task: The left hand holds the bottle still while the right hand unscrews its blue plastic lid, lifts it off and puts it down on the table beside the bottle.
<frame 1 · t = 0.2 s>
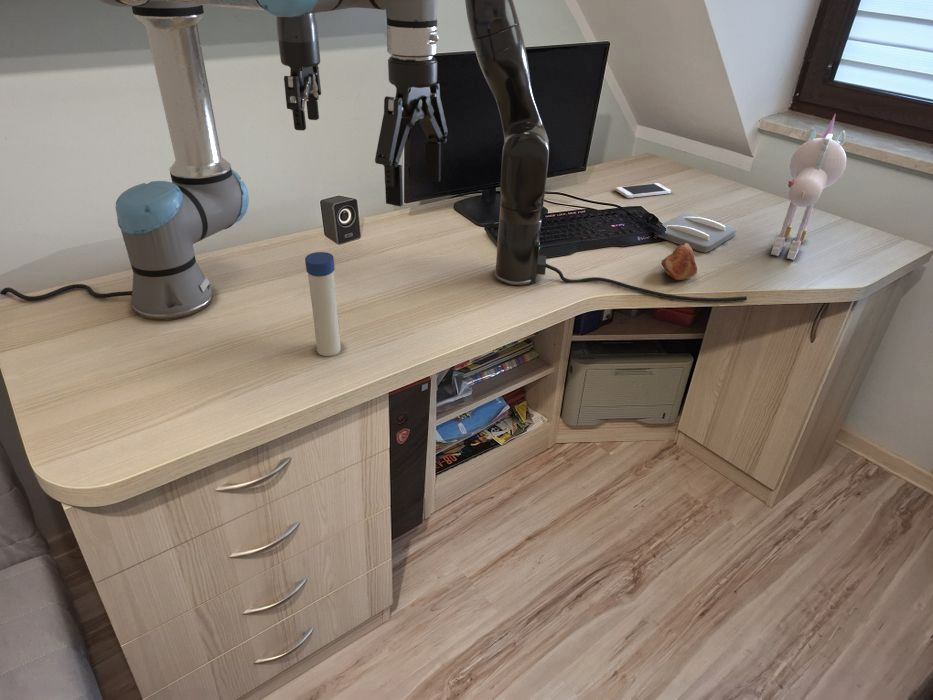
left hand: (414, 191, 109), 28 cm above the table, tool pointing down, fingers open, 13 cm apart
right hand: (307, 124, 131), 31 cm above the table, tool pointing down, fingers open, 8 cm apart
brown lumpy piece: (676, 275, 148), on the table
toy: (791, 239, 168), on the table
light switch: (694, 235, 168), on the table
bottle: (329, 349, 118), on the table
smartphone: (642, 192, 194), on the table
lid: (319, 259, 108), point 18 cm above the table, screwed on, not yet turned
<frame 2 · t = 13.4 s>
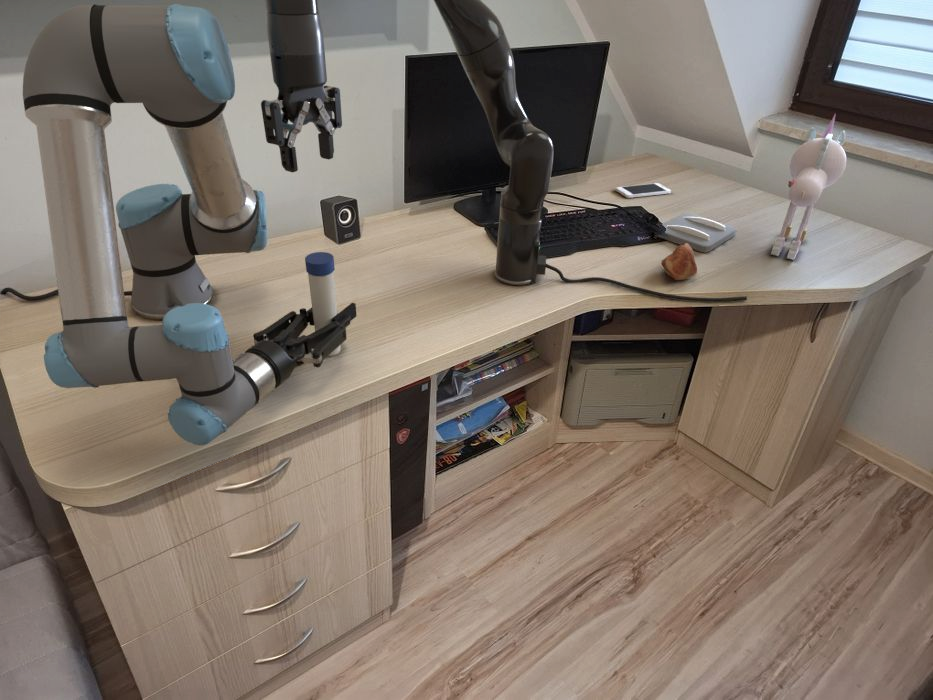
left hand: (342, 306, 118), 7 cm above the table, tool horizontal, fingers closed on bottle, 4 cm apart
right hand: (309, 164, 99), 34 cm above the table, tool pointing down, fingers open, 7 cm apart
bottle: (329, 349, 118), on the table, touching left hand
everything else where it was.
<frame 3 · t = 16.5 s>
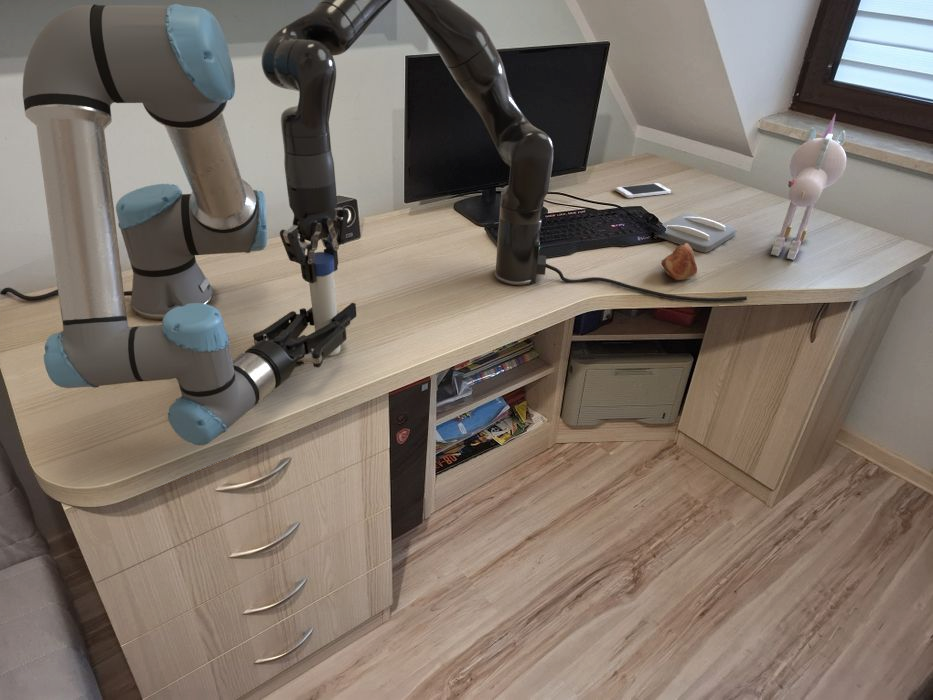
left hand: (342, 306, 118), 7 cm above the table, tool horizontal, fingers closed on bottle, 4 cm apart
right hand: (320, 275, 109), 15 cm above the table, tool pointing down, fingers closed on lid, 4 cm apart
bottle: (329, 349, 118), on the table, touching left hand
lid: (319, 259, 108), point 18 cm above the table, screwed on, not yet turned, touching right hand
everything else where it was.
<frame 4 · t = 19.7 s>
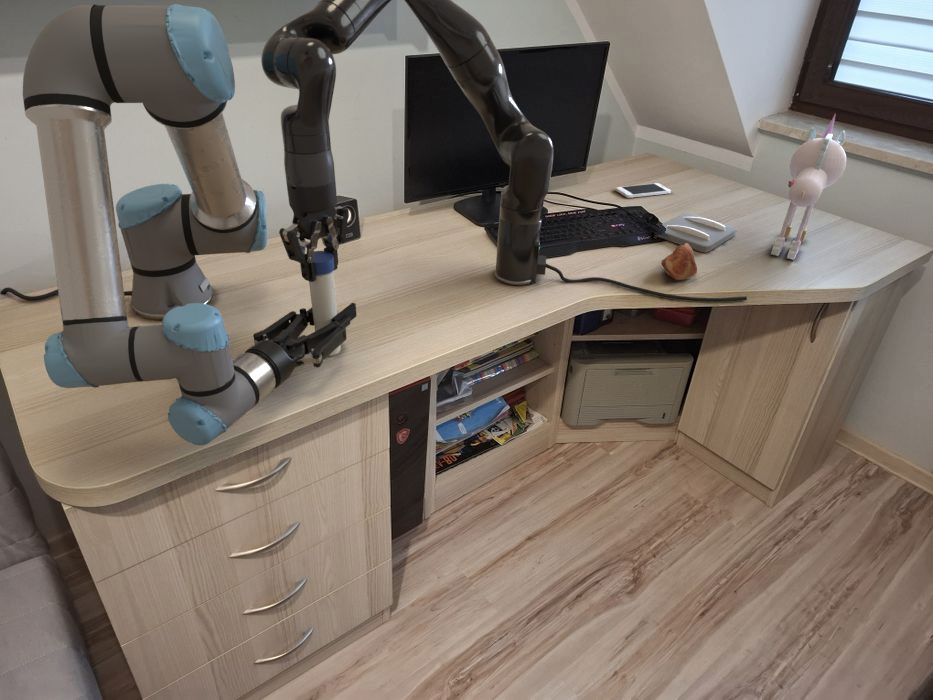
left hand: (342, 306, 118), 6 cm above the table, tool horizontal, fingers closed on bottle, 4 cm apart
right hand: (320, 274, 109), 16 cm above the table, tool pointing down, fingers closed on lid, 4 cm apart
bottle: (329, 349, 118), on the table, touching left hand
lid: (319, 258, 107), point 18 cm above the table, turned 65° so far, risen 0.2 cm, still on its thread, touching right hand
everything else where it was.
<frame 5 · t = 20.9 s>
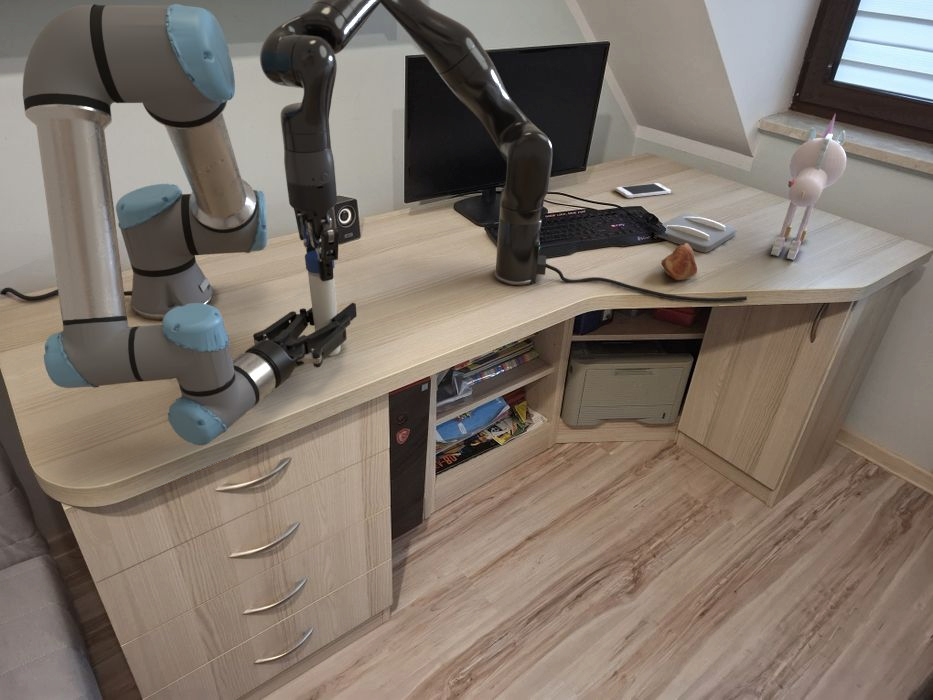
left hand: (342, 306, 118), 6 cm above the table, tool horizontal, fingers closed on bottle, 4 cm apart
right hand: (320, 272, 109), 16 cm above the table, tool pointing down, fingers closed on lid, 4 cm apart
bottle: (329, 349, 118), on the table, touching left hand
lid: (319, 257, 107), point 19 cm above the table, turned 130° so far, risen 0.4 cm, still on its thread, touching right hand
everything else where it was.
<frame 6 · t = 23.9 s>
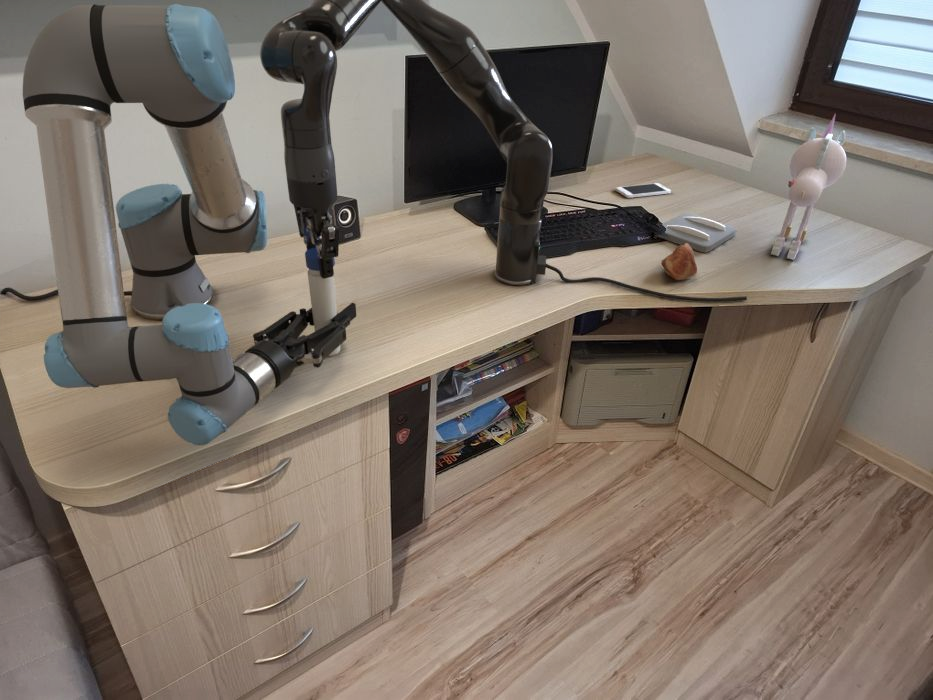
left hand: (342, 306, 118), 6 cm above the table, tool horizontal, fingers closed on bottle, 4 cm apart
right hand: (321, 270, 108), 16 cm above the table, tool pointing down, fingers closed on lid, 4 cm apart
bottle: (328, 349, 118), on the table, touching left hand
lid: (319, 254, 107), point 19 cm above the table, off its thread, touching right hand
everything else where it was.
when the right hand's fingers open (0 cm above the table, at t = 29.6 s): lid drops 1 cm, point 2 cm above the table.
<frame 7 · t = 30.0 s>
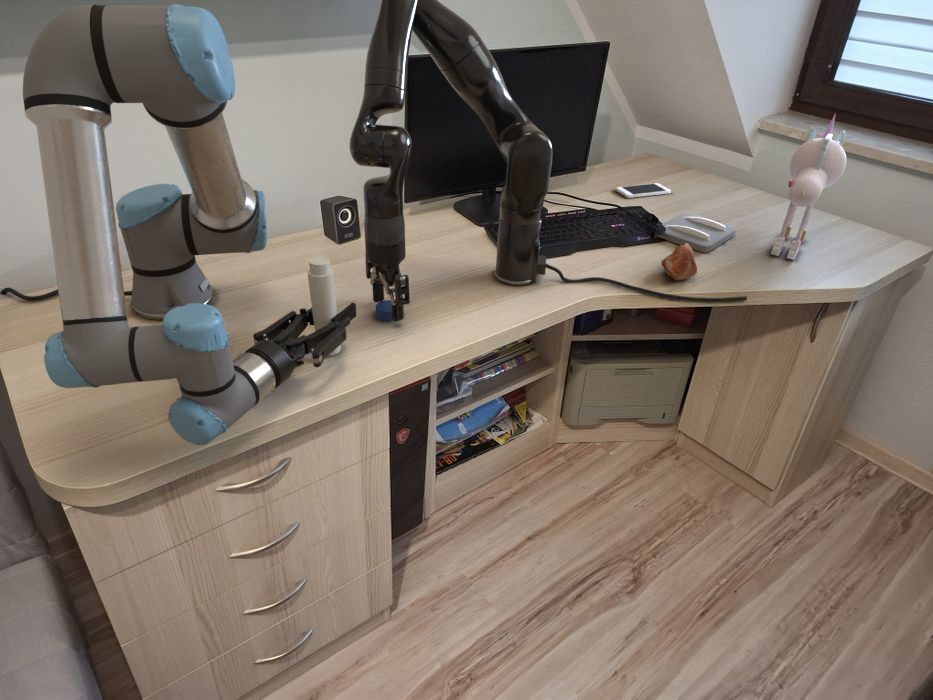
left hand: (342, 306, 118), 6 cm above the table, tool horizontal, fingers closed on bottle, 4 cm apart
right hand: (388, 310, 128), 1 cm above the table, tool pointing down, fingers open, 8 cm apart
bottle: (329, 349, 118), on the table, touching left hand
lid: (387, 307, 128), point 2 cm above the table, off its thread
everything else where it was.
when the left hand's fingers open (6 cm above the table, at t = 30.5 s): bottle stays where it is, on the table.
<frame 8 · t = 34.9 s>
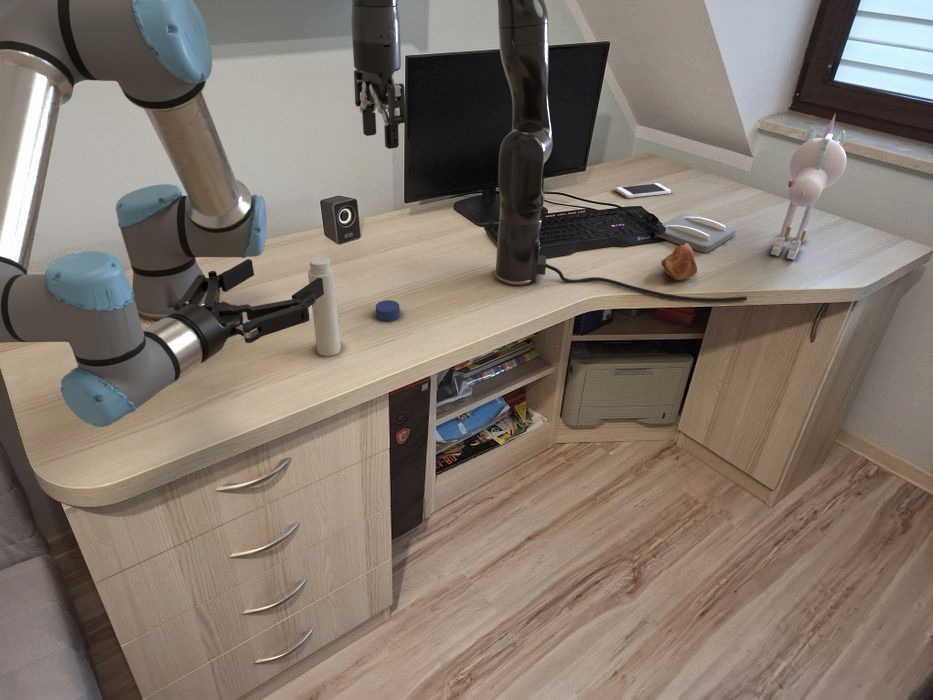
left hand: (285, 276, 100), 19 cm above the table, tool horizontal, fingers open, 13 cm apart
right hand: (380, 141, 109), 35 cm above the table, tool pointing down, fingers open, 8 cm apart
bottle: (329, 349, 118), on the table
everything else where it was.
at the end: lid came off its thread; lid point 1.9 cm above the table; the left hand is holding nothing; the right hand is holding nothing; bottle tilted 0°; bottle moved 0.0 cm from its start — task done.
